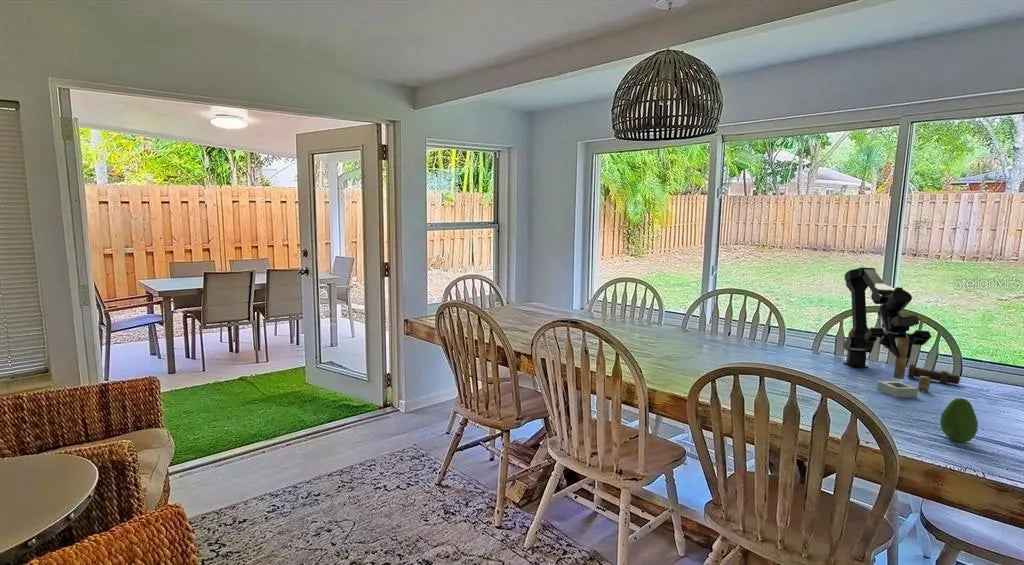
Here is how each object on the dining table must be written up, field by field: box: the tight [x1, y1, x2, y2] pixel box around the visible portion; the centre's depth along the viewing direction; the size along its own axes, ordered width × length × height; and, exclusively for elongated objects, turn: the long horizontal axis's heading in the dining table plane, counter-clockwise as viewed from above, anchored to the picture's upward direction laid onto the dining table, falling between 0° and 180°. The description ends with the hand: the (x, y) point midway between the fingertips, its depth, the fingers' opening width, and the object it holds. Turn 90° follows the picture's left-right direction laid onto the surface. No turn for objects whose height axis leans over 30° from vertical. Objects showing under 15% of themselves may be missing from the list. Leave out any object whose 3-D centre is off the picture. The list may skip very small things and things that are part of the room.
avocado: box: [939, 397, 979, 443], centre depth 150 cm, size 8×8×12 cm
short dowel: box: [917, 376, 931, 393], centre depth 192 cm, size 3×3×5 cm
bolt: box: [907, 363, 961, 385], centre depth 204 cm, size 6×5×15 cm
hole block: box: [876, 380, 919, 399], centre depth 189 cm, size 8×8×3 cm
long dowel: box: [893, 337, 909, 380], centre depth 187 cm, size 3×3×14 cm
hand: (903, 357), depth 186 cm, fingers closed on long dowel, 3 cm apart
